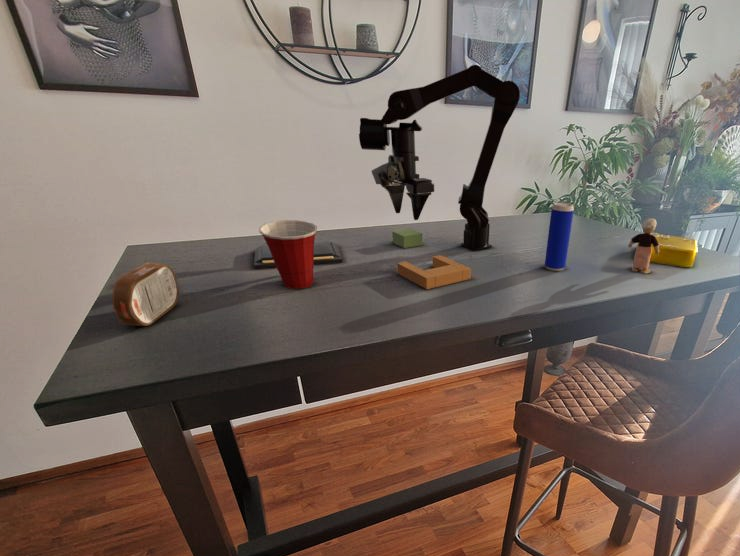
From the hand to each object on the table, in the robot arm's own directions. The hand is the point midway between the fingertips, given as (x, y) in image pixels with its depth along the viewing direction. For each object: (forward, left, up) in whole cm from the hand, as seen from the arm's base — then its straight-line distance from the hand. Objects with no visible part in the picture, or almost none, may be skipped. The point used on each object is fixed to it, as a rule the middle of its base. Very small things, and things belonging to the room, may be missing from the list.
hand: (406, 216), depth 119 cm
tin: (+62, +17, -8) cm, 65 cm away
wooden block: (+9, +26, -7) cm, 28 cm away
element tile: (-54, +47, -8) cm, 72 cm away
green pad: (0, 0, -7) cm, 7 cm away
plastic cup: (+36, +15, -8) cm, 40 cm away
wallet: (+29, -4, -8) cm, 30 cm away
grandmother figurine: (-37, +50, -8) cm, 62 cm away
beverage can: (-20, +37, -8) cm, 43 cm away
